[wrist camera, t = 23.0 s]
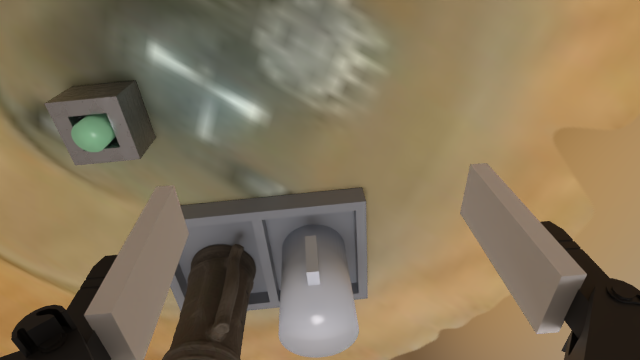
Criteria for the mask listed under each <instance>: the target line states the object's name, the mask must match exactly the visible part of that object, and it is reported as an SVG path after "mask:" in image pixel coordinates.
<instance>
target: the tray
mask: <svg viewBox="0 0 640 360" xmlns="http://www.w3.org/2000/svg"><path fill="white" fill-rule="evenodd" d="M181 210H182V213H183V216H184V219H185V223H186V226H187V229H188V233H189V235H188V238H187V240H186V243H185V246H184V249H183V251H182V254H181V257H180V260H179V263H178V265H177V268H176V271H175V274H174V277H173V279H172V282H171V285H170V287H171V289H172V292H173V294H174V296H175V299H176V301H177V303H178V306H179V308H180V311H181V309H182V306H183V302H184V299H185V296H186V292H187V286H188V276H189V273H190V270H191V262H192V259H193V257H194V256H195V255H196V253H197V252H199V251H200V250H202V249H203V248H206V247H208V246H213V245H229V246H233V245H234V244H239V245H241V246H243V247H244V250H243V251H245V252H247V253H248V254H249V255H250V256H251V257H252V258H253V260H254V263H255V266H256V274H255V278H254V280H253V282H254V284H253V289H252V291H251V293H250V297H249V302H248V308H247V311H248V310H257V309H267V308H277V307H280V291H281V266H282V246H283V242H284V240H285V238H286V237H287V236H288V235H289V234H290V233H291V232H292V231H294V230H295V229H297V228H299V227H302V226H306V225H314V224H316V225H324V226H327V227H330V228H332V229H334V230H335V231H337V232H338V233H339V234H340V235H341V237H342V239H343V241H344V245H345V251H346V257H347V262H348V268H349V274H350V280H351V286H352V292H353V298H354V300H355V299H365V298H367V236H366V200H365V196H364V193H363V189H362V188H352V189H342V190H332V191H322V192H312V193H302V194H292V195H281V196H271V197H261V198H251V199H241V200H231V201H221V202H211V203H201V204H191V205H181Z"/></svg>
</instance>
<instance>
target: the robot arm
mask: <svg viewBox="0 0 640 360" xmlns="http://www.w3.org/2000/svg"><path fill="white" fill-rule="evenodd" d="M460 214H461V215H462V217H463V219H464V220H465V222H466V223H467V225H468V226H469V228H470V230H471V231H472V233H473V234H474V236H475V238H476V239H477V241H478V242H479V244H480V245H481V247H482V249H483V250H484V252H485V253H486V255H487V257H488V258H489V260H490V261H491V263H492V264H493V266H494V268H495V269H496V271H497V272H498V274H499V276H500V277H501V279H502V280H503V282H504V283H505V285H506V287H507V288H508V290H509V291H510V293H511V295H512V296H513V298H514V299H515V301H516V302H517V304H518V305H519V307H520V309H521V310H522V312H523V314H524V315H525V317H526V318H527V320H528V321H529V323H530V324H531V326H532V328H533V329H534V331H535V332H536V334H543V333H554V332H559V330H560V328H561V326H562V324H563V322H564V320H565V322H566V323H567V324H568V326H569V327H570V328H571V330H572V331H571V333H570V335H569V337H568V339H567V341H566V343H565V345H564V347H563V349H562V351H563V352H566V353H565V358H564V360H640V291H639V290H638V289H637V288H635V287H634V286H632V285H630V284H628V283H626V282H624V281H620V280H617V279H613V278H609V277H608V276H607V275H606V274H605V273H604V272H603V271H602V270H601V268H599V266H598V265H597V264H596V263H595V262H594V261H593V260H592V259H591V258H590V257H589V256H588V255H587V254H586V253H585V252H584V251H583V250H582V249H580V247H579V246H578V245H577V244H576V243H575V242H574V241H573V239H572V238H571V237H570V236H569V235H568V234H567V233H566V232H565V231H564V230H563V229H562V228H560V227H558V226H557V225H555V224H553V223H552V222H550V221H545V222H539V220H538V219H537V218H536V217H535V216H534V215H533V214H532V213H531V212H530V210H529V209H528V208H527V207H526V206H525V205H524V204H523V203H522V202H521V200H520V199H519V198H518V197H517V196H516V195H515V194H514V193H513V192H512V190H511V189H510V188H509V187H508V186H507V185H506V184H505V183H504V182H503V180H502V179H501V178H500V177H499V176H498V175H497V174H496V173H495V172H494V170H493V169H492V168H491V167H490V166H489V165H488V164H487V163H483V164H470V168H469V173H468V178H467V183H466V187H465V192H464V197H463V202H462V207H461V212H460ZM188 235H189V233H188V229H187V226H186V223H185V219H184V216H183V213H182V210H181V206H180V203H179V200H178V197H177V193H176V190H175V187H174V185H173V186H159V187H156V188H155V190H154V192H153V193H152V195H151V197H150V199H149V201H148V202H147V204H146V206H145V208H144V209H143V211H142V213H141V215H140V216H139V218H138V220H137V222H136V224H135V225H134V227H133V229H132V231H131V232H130V234H129V236H128V238H127V240H126V241H125V243H124V245H123V247H122V248H121V250H120V252H119V254H118V255H111V256H105V257H104V258H102V259H101V260H100V261H99V262H98V263H97V264H96V265H95V266H93V268H92V270H91V271H90V273H89V274H88V276H87V278H86V280H85V281H84V283H83V284H82V286H81V287H80V290H79V291H78V292H77V294H76V295H75V297H74V299H73V300H72V302H71V304H70V305H69V307H68V308H67V310H65V309H64V308H63V307H62V306H58V305H50V306H45V307H42V308H40V309H37V310H35V311H33V312H32V313H30V314H29V315H27V316H25V317H24V318H23V319H22V320H21V321H20V322H19V323H18V324H17V325H16V327H15V328H14V330H13V332H12V338H11V340H12V341H13V342H14V343H15V345H16V346H17V347H18V348H19V350H20V351H18V352H15V353H12V354H9V355H6V356H3V357H0V360H144V358H145V355H146V352H147V349H148V346H149V344H150V341H151V338H152V335H153V332H154V330H155V327H156V324H157V321H158V319H159V316H160V313H161V310H162V307H163V305H164V302H165V299H166V296H167V293H168V291H169V288H170V285H171V282H172V279H173V277H174V274H175V271H176V268H177V265H178V263H179V260H180V257H181V254H182V251H183V249H184V246H185V243H186V240H187V238H188Z"/></svg>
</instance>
